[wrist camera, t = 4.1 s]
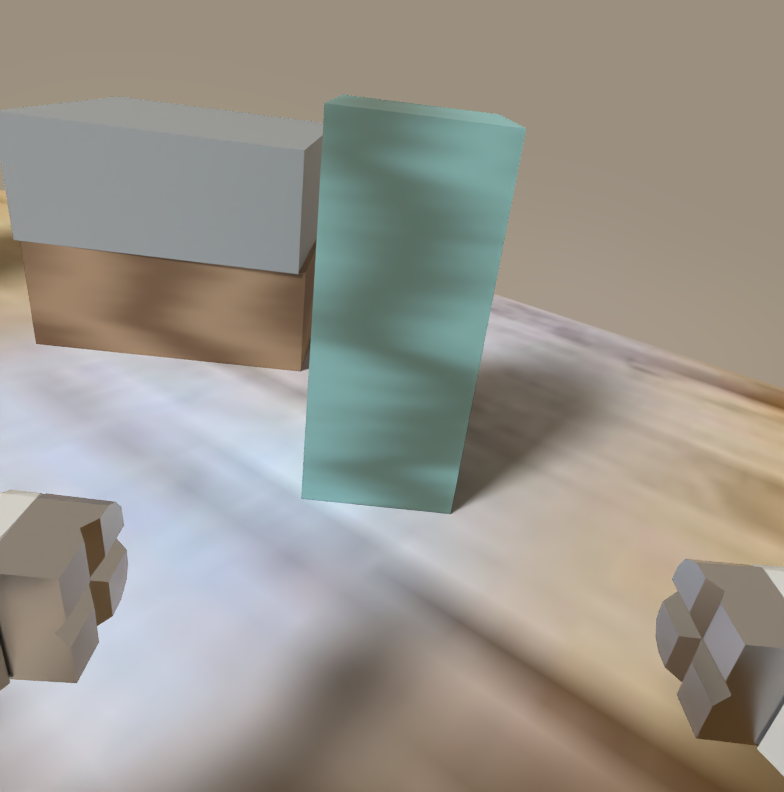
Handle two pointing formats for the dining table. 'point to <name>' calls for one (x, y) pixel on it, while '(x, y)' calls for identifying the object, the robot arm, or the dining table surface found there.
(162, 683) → the dining table surface
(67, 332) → the tower base
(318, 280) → the teal block
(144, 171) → the tower top
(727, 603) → the robot arm
